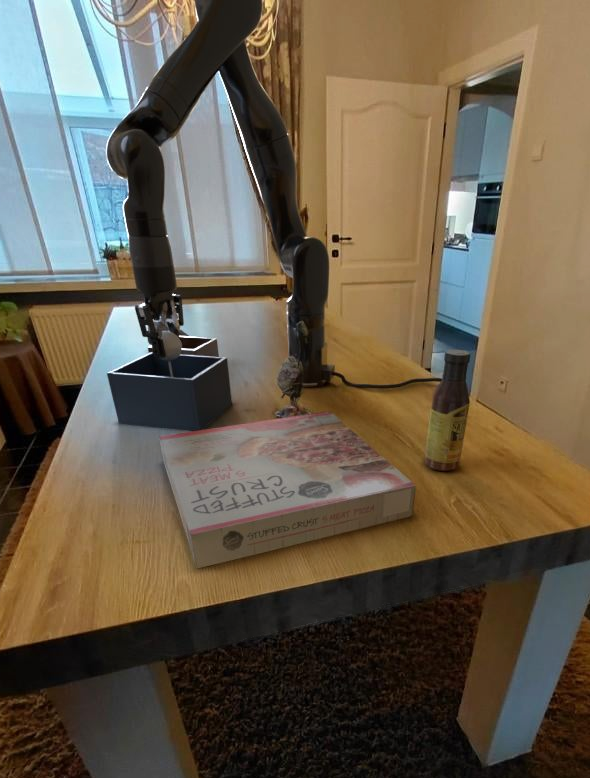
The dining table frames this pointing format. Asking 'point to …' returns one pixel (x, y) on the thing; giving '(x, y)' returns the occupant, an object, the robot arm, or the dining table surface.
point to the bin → (171, 391)
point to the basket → (197, 346)
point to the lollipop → (171, 347)
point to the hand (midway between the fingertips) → (168, 353)
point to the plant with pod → (293, 379)
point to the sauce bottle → (448, 414)
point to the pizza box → (279, 485)
